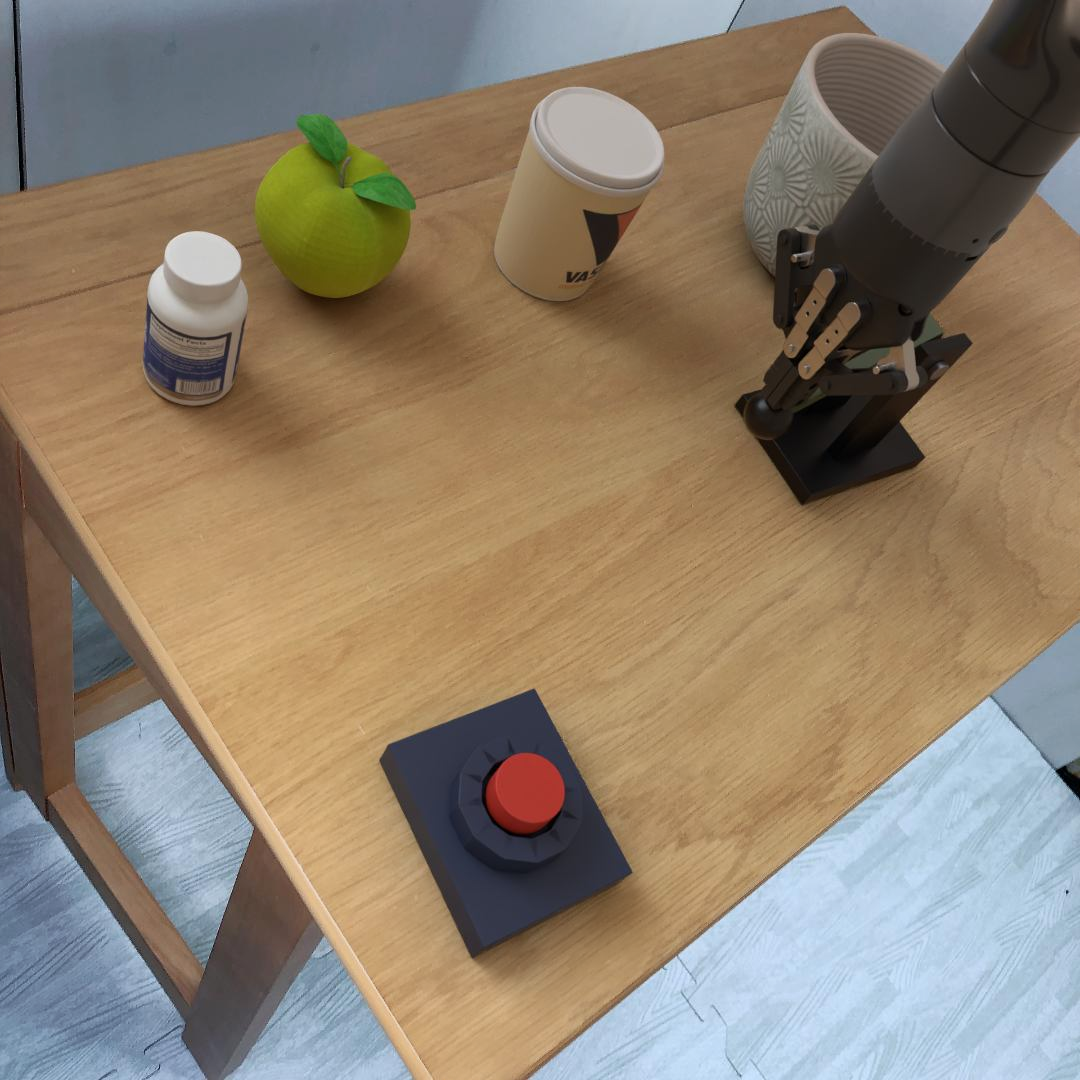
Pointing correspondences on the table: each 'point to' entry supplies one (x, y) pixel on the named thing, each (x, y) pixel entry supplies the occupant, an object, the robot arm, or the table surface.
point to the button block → (480, 842)
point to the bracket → (855, 432)
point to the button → (525, 793)
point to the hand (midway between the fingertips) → (777, 399)
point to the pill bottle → (195, 320)
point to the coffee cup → (575, 191)
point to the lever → (778, 421)
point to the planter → (831, 133)
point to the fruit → (332, 213)
